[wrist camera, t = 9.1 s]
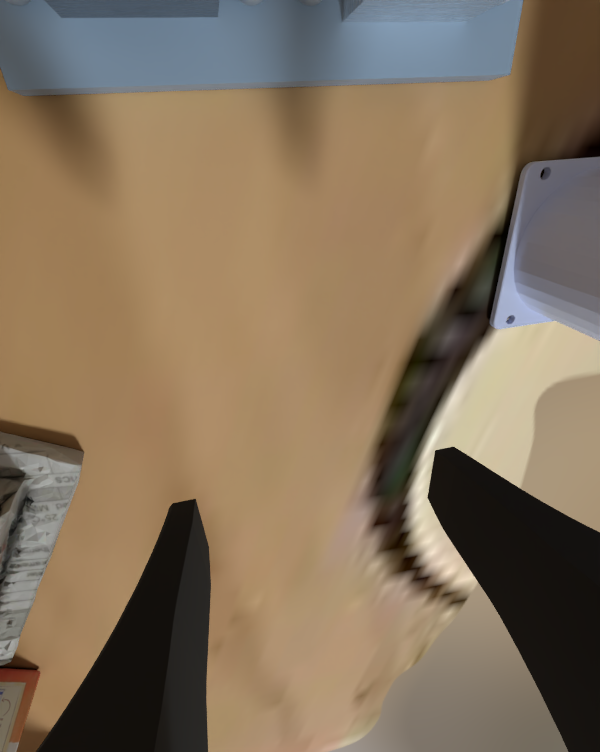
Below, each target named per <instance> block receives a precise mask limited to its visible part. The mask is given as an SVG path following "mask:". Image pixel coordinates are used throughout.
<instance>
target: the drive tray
mask: <svg viewBox="0 0 600 752" xmlns="http://www.w3.org/2000/svg"><path fill="white" fill-rule="evenodd" d="M522 4H523V0H506V1H504V2H502V3H500V4H498V5H497V6H495V7H493V8H491V9H489V10H487V11H485V12H484V13H482V14H480V15H478V16H476V17H474V18H472V19H470V20H469V21H467V22H343V23H342V0H219V10H218V17H187V18H61V17H60V16H59V15H58V14H57V13H56V12H55V11H54V10H53V9H52V8H51V7H50V6H49V5H48V4H47V3H46V2H45V1H44V0H0V68H1V71H2V73H3V76H4V79H5V82H6V85H7V88H8V90H9V91H12V92H15V93H18V94H20V95H23V96H39V95H68V94H98V93H128V92H158V91H188V90H218V89H248V88H278V87H308V86H338V85H368V84H398V83H428V82H458V81H488V80H493V79H496V78H500V77H503V76H507V75H510V72H511V67H512V61H513V55H514V50H515V44H516V38H517V33H518V27H519V21H520V16H521V10H522Z"/></svg>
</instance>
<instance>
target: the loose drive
mask: <svg viewBox="0 0 600 752" xmlns="http://www.w3.org/2000/svg"><path fill="white" fill-rule="evenodd" d="M44 1H45V2H46V3H47V4H48V5H49V6H50V7H51V8H52V9H53V10H54V11H55V12H56V13H57V14H58V15H59V16H60V17H61V18H187V17H218V10H219V0H44Z"/></svg>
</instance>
